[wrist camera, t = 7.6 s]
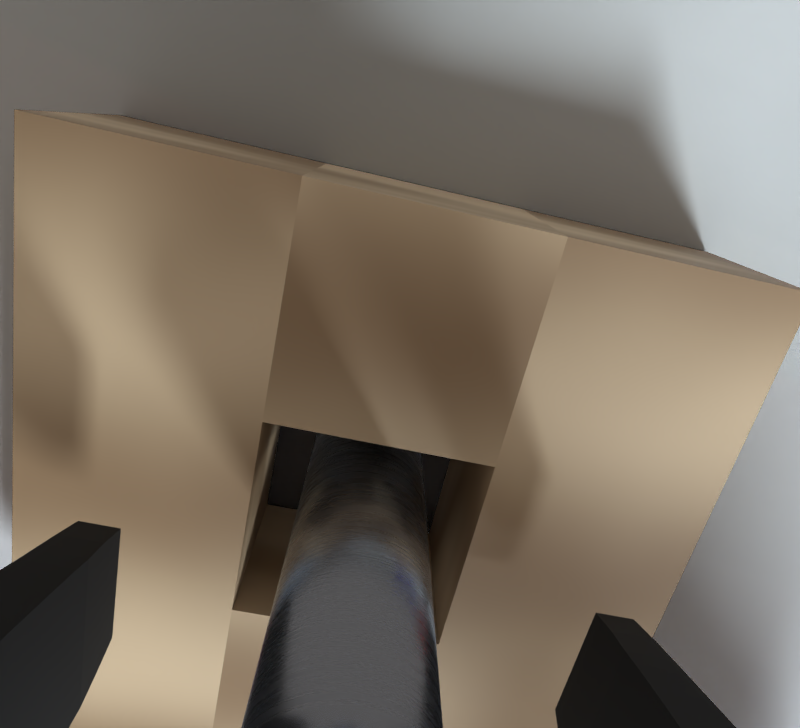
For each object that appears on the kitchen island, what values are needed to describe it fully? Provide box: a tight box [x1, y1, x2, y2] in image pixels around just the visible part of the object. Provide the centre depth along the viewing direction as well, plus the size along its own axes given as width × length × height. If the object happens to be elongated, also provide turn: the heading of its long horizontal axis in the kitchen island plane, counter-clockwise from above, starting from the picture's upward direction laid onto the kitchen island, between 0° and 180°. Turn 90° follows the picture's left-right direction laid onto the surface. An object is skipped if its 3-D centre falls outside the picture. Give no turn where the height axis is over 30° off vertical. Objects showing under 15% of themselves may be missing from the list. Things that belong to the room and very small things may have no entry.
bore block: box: [12, 109, 800, 728], centre depth 13 cm, size 12×12×4 cm
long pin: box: [241, 433, 443, 728], centre depth 11 cm, size 2×2×8 cm
